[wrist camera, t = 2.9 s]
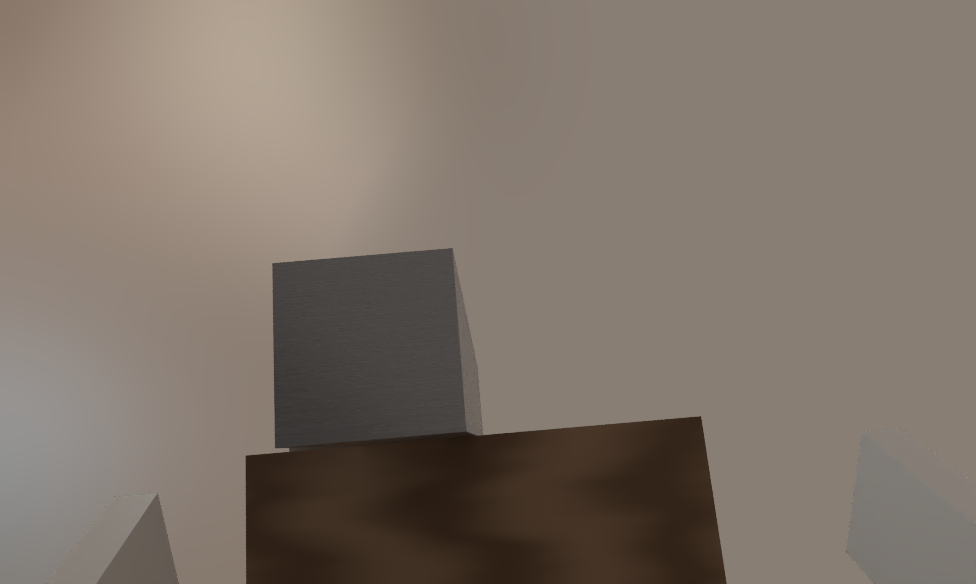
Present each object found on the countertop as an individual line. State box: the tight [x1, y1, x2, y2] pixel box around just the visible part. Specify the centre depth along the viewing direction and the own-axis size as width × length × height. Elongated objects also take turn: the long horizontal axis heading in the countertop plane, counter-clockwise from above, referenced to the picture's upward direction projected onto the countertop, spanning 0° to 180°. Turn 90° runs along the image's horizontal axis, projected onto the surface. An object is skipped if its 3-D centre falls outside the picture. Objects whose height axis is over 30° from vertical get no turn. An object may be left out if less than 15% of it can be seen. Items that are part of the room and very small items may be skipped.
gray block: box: [272, 248, 483, 448], centre depth 26 cm, size 4×24×4 cm, turn 0°
